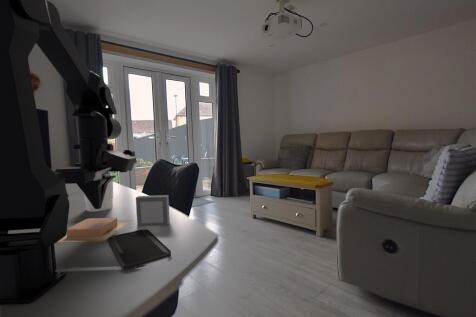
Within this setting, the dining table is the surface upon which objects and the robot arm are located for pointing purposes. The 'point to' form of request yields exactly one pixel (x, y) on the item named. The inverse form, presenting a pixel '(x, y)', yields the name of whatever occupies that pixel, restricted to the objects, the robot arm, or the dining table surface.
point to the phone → (137, 249)
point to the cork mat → (96, 238)
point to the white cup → (106, 201)
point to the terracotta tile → (92, 227)
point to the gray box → (152, 210)
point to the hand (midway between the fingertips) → (97, 208)
